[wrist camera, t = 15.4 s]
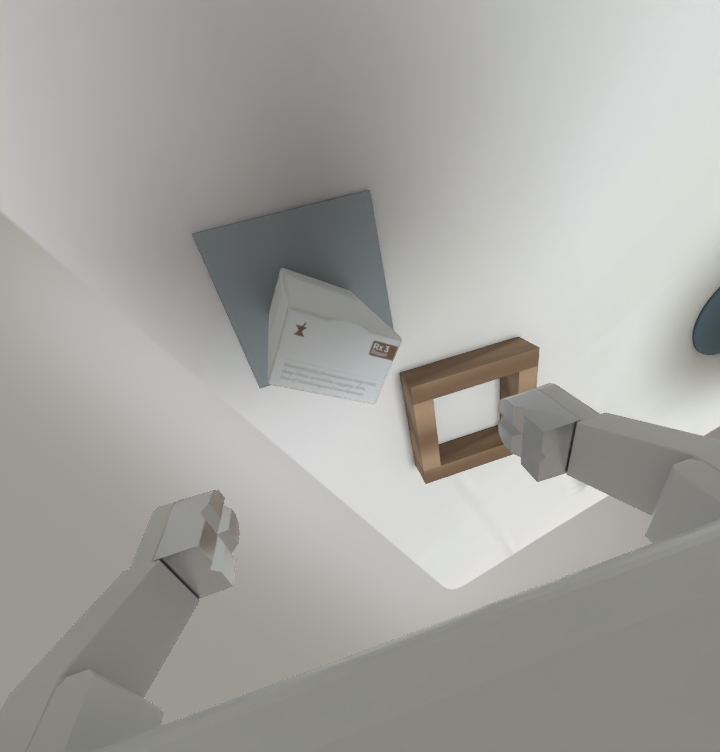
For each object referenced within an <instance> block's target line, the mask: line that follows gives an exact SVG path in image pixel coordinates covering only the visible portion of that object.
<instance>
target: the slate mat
mask: <svg viewBox="0 0 720 752" xmlns="http://www.w3.org/2000/svg"><path fill="white" fill-rule="evenodd" d="M192 236H193V238H194V240H195V242H196V245H197V247H198V249H199V251H200V254H201V256H202V258H203V260H204V263H205V265H206V267H207V269H208V272H209V274H210V276H211V279H212V281H213V283H214V285H215V288H216V290H217V292H218V294H219V297H220V299H221V301H222V303H223V306H224V308H225V310H226V312H227V315H228V317H229V319H230V321H231V324H232V326H233V328H234V330H235V333H236V335H237V337H238V339H239V342H240V344H241V346H242V349H243V351H244V353H245V355H246V358H247V360H248V362H249V364H250V367H251V369H252V371H253V373H254V376H255V378H256V380H257V382H258V385H259V387H260V388H263V387H266V386H269V385H270V384H269V383H268V380H267V372H268V332H269V311H270V307H271V303H272V299H273V295H274V291H275V287H276V283H277V280H278V276H279V272H280V269H281V268H285V269H288V270H291V271H294V272H297V273H300V274H303V275H306V276H309V277H312V278H315V279H318V280H321V281H324V282H327V283H329V284H332V285H335V286H338V287H341V288H344V289H347V290H350V291H351V292H352V293H353V294H354V295H355V296H356V297H358V298H359V299H360V300H361V301H362V302H363V303H364V304H365V305H366V306H367V307H368V308H369V309H371V310H372V311H373V312H374V313H375V314H376V315H377V316H378V317H379V318H380V319H381V320H383V321H384V322H385V323H386V324H387V325H388V326H389V327H390V328H391V329H392V330H393V324H392V318H391V312H390V307H389V301H388V295H387V289H386V283H385V277H384V271H383V265H382V260H381V254H380V248H379V242H378V236H377V230H376V224H375V219H374V213H373V207H372V201H371V195H370V190H368V191H364V192H360V193H356V194H352V195H348V196H344V197H339V198H335V199H331V200H327V201H323V202H319V203H315V204H311V205H307V206H303V207H299V208H295V209H291V210H287V211H283V212H279V213H275V214H271V215H267V216H263V217H259V218H255V219H251V220H247V221H243V222H239V223H235V224H231V225H227V226H223V227H219V228H215V229H210V230H206V231H202V232H198V233H194V234H192ZM393 331H394V330H393Z"/></svg>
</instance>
